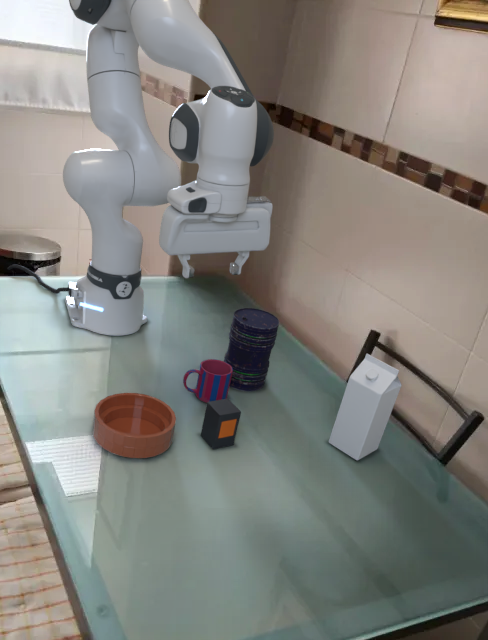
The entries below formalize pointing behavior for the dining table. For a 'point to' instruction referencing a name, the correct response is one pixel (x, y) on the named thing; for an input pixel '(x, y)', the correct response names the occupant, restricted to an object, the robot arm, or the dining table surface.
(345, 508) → the dining table surface
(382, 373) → the milk carton
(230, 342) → the dark blue cylinder
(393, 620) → the dining table surface
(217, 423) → the box
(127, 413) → the bowl
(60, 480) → the dining table surface
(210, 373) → the mug
